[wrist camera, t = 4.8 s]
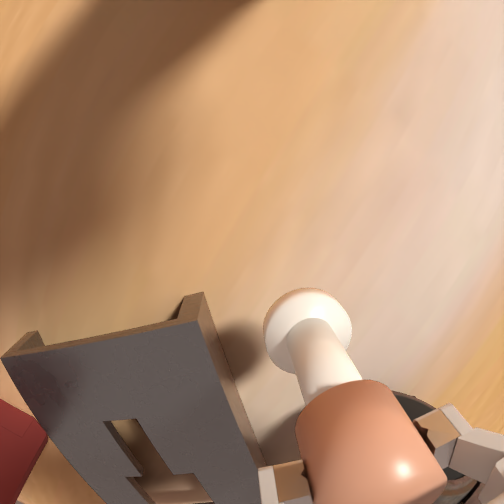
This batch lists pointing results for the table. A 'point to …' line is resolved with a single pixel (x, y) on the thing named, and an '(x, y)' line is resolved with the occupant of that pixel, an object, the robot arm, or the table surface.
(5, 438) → the carton
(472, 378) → the table surface
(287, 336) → the peg
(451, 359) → the table surface
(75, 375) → the keyhole board
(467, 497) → the alarm clock
